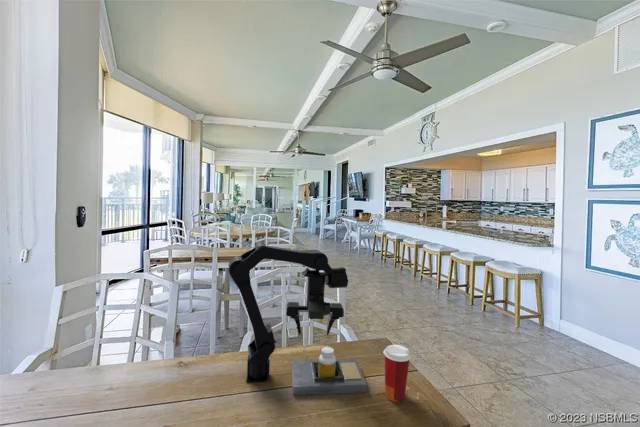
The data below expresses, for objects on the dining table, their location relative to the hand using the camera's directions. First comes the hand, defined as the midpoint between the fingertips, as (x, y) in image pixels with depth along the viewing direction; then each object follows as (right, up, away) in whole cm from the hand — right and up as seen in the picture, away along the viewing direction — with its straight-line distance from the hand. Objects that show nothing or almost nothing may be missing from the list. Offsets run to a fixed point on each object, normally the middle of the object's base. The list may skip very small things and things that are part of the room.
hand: (313, 334), depth 103 cm
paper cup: (+24, -14, -12) cm, 30 cm away
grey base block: (+4, -12, -5) cm, 14 cm away
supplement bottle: (+4, -13, -5) cm, 14 cm away
